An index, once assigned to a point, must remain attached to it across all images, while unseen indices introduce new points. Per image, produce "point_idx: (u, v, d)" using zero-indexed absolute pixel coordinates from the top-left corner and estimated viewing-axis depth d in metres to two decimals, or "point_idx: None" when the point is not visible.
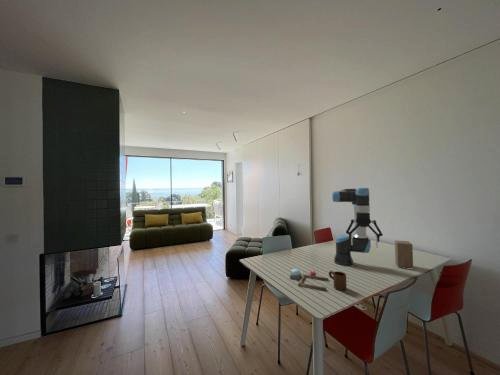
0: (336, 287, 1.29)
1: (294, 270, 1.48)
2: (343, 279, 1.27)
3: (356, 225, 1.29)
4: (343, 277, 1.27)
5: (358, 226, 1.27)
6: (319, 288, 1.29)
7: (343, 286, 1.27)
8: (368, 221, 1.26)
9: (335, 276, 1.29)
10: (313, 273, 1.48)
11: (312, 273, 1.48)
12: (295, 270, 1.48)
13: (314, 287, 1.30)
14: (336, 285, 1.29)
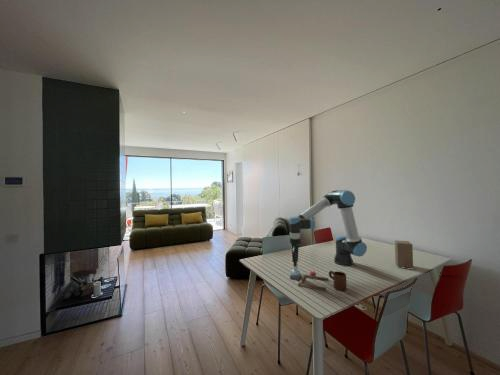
0: (336, 287, 1.29)
1: None
2: (343, 279, 1.27)
3: None
4: (343, 277, 1.27)
5: None
6: (319, 288, 1.29)
7: (343, 286, 1.27)
8: None
9: (335, 276, 1.29)
10: (313, 273, 1.48)
11: (312, 273, 1.48)
12: None
13: (314, 287, 1.30)
14: (336, 285, 1.29)
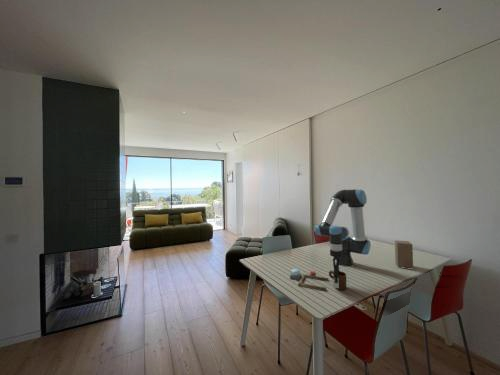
0: None
1: (294, 270, 1.48)
2: (343, 279, 1.27)
3: None
4: (343, 277, 1.28)
5: None
6: (319, 288, 1.29)
7: (342, 286, 1.27)
8: (334, 259, 1.30)
9: None
10: (313, 273, 1.48)
11: (312, 273, 1.48)
12: (295, 270, 1.48)
13: (314, 287, 1.30)
14: None
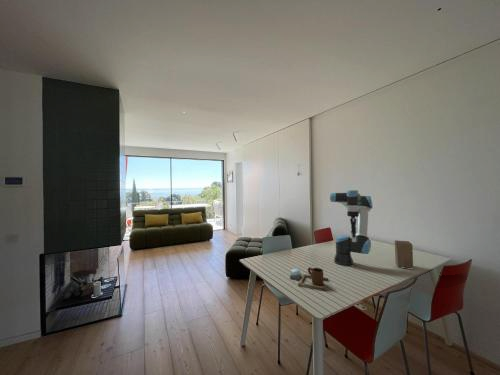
0: (314, 282, 1.36)
1: (294, 270, 1.48)
2: (320, 275, 1.34)
3: (352, 221, 1.53)
4: (320, 273, 1.34)
5: None
6: (319, 288, 1.29)
7: (319, 282, 1.34)
8: None
9: (313, 272, 1.36)
10: None
11: None
12: (295, 270, 1.48)
13: (314, 287, 1.30)
14: (314, 281, 1.36)
